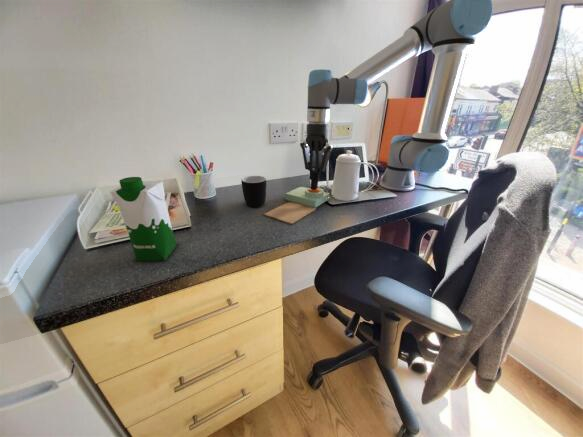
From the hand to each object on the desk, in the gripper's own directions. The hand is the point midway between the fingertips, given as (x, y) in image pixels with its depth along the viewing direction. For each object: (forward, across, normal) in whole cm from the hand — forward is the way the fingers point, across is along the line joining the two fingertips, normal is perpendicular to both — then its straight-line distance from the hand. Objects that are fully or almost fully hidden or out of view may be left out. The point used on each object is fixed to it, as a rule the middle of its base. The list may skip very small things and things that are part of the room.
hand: (314, 188), depth 91 cm
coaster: (+5, -1, -14) cm, 15 cm away
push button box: (+5, -3, 0) cm, 6 cm away
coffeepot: (+5, +7, +12) cm, 15 cm away
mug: (+6, -17, -16) cm, 24 cm away
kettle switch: (+2, 0, 0) cm, 2 cm away
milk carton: (+6, -13, -55) cm, 57 cm away
